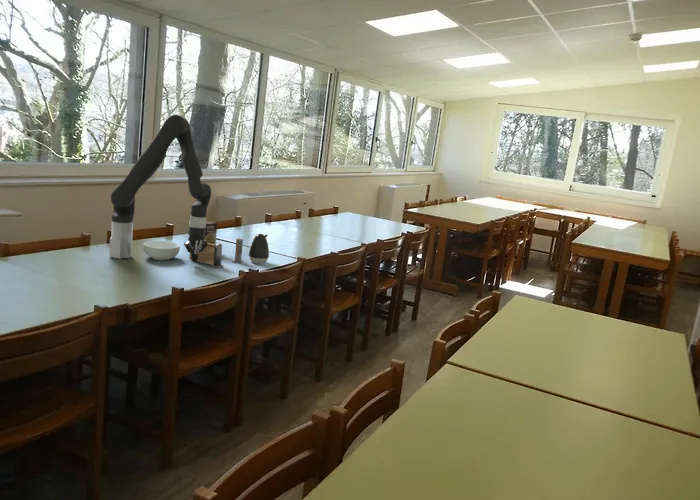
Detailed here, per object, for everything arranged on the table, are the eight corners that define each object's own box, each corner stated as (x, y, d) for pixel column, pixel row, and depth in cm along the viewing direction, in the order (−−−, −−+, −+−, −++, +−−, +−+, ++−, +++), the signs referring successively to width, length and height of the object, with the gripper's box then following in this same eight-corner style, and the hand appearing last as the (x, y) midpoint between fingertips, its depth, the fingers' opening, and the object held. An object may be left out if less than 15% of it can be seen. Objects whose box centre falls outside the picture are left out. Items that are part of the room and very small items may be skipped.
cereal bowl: (167, 264, 253) (168, 250, 251) (135, 259, 256) (136, 244, 254) (185, 257, 269) (186, 243, 268) (155, 252, 272) (156, 238, 271)
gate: (213, 265, 260) (214, 245, 258) (189, 259, 265) (190, 240, 263) (216, 264, 262) (217, 245, 260) (191, 258, 266) (192, 239, 264)
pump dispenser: (272, 263, 278) (275, 234, 275) (259, 266, 269) (261, 236, 266) (257, 259, 283) (259, 230, 280) (244, 262, 274) (246, 232, 271)
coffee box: (201, 254, 278) (203, 224, 275) (193, 251, 282) (195, 221, 279) (215, 252, 286) (217, 223, 282) (208, 250, 289) (209, 220, 286)
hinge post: (219, 268, 257) (221, 246, 255) (210, 266, 258) (211, 244, 256) (224, 266, 262) (226, 244, 260) (215, 264, 263) (217, 242, 261)
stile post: (239, 263, 270) (241, 240, 267) (231, 262, 271) (233, 238, 269) (243, 262, 274) (245, 239, 272) (236, 260, 275) (237, 237, 273)
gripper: (202, 223, 260) (199, 257, 264) (180, 224, 249) (177, 260, 252) (213, 226, 256) (210, 261, 260) (192, 228, 245) (188, 264, 249)
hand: (194, 261), depth 256 cm, fingers closed
